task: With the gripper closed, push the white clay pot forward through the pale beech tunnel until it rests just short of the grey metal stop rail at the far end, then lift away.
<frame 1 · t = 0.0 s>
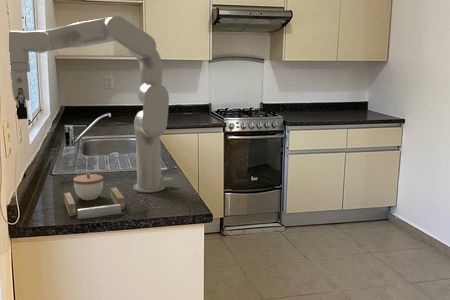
hand: (22, 117, 171), 31 cm above the worktop, tool pointing down, fingers open, 9 cm apart
stop rail: (99, 215, 164), on the worktop
lidded jar: (89, 198, 183), on the worktop
rail far: (70, 209, 170), on the worktop
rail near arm: (117, 203, 177), on the worktop
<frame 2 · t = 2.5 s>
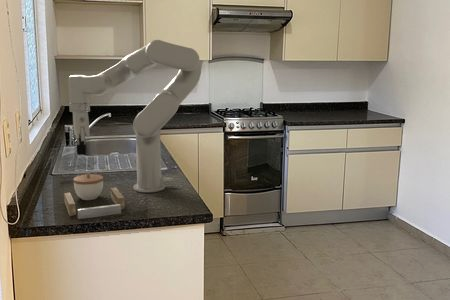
hand: (81, 154, 191), 14 cm above the worktop, tool pointing down, fingers closed
nothing on the worktop moved.
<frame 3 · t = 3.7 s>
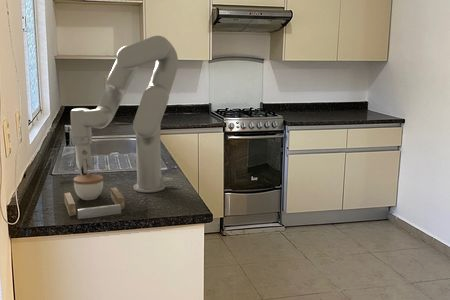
hand: (84, 185, 193), 2 cm above the worktop, tool pointing down, fingers closed
nothing on the worktop moved.
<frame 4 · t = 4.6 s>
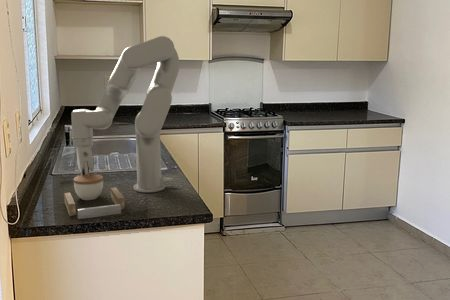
hand: (85, 187, 191), 2 cm above the worktop, tool pointing down, fingers closed
lidded jar: (89, 198, 183), on the worktop, touching gripper
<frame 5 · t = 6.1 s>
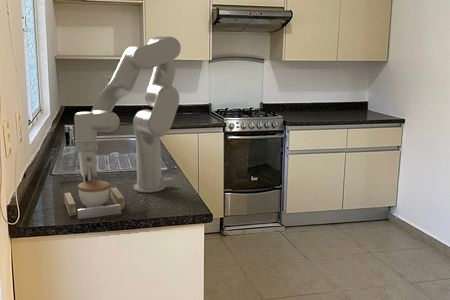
hand: (88, 194, 181), 2 cm above the worktop, tool pointing down, fingers closed
lidded jar: (94, 205, 174), on the worktop, touching gripper
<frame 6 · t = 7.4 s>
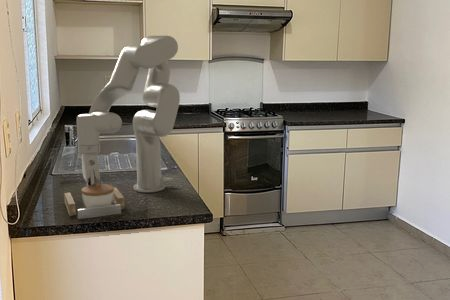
hand: (91, 198, 177), 2 cm above the worktop, tool pointing down, fingers closed
lidded jar: (98, 210, 170), on the worktop, touching gripper
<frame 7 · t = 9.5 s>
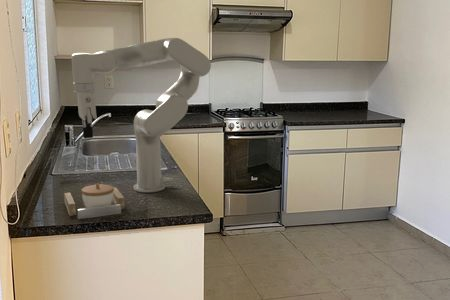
hand: (88, 137, 181), 23 cm above the worktop, tool pointing down, fingers closed
lidded jar: (98, 210, 170), on the worktop
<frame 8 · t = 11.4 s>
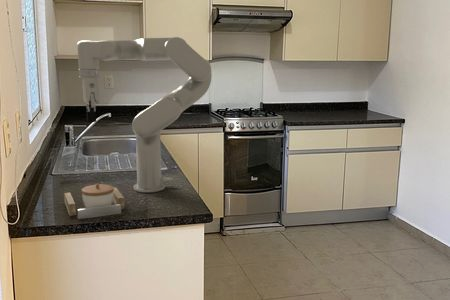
hand: (91, 121, 189), 27 cm above the worktop, tool pointing down, fingers closed
nothing on the worktop moved.
at the end: lidded jar inside the target area (1.2 cm from its centre), on the worktop; lidded jar tilted 0°; lidded jar moved 15.6 cm from its start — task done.
